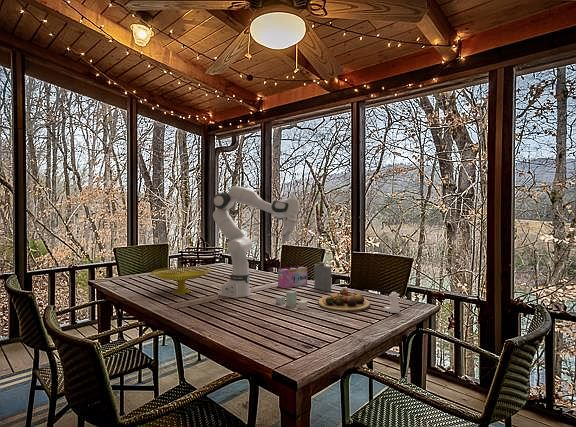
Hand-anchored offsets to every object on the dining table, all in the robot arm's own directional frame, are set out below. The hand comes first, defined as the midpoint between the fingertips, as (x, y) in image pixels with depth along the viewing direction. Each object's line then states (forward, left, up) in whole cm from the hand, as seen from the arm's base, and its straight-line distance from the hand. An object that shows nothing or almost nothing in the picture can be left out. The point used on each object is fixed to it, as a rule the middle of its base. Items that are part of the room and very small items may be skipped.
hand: (284, 241), depth 228 cm
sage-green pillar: (+8, -10, -38) cm, 40 cm away
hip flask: (+16, +38, -38) cm, 56 cm away
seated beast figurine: (+68, -3, -38) cm, 78 cm away
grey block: (0, -7, -38) cm, 39 cm away
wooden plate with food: (+38, +3, -39) cm, 54 cm away
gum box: (-8, +43, -38) cm, 58 cm away
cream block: (+16, -13, -38) cm, 43 cm away
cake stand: (-75, -5, -38) cm, 84 cm away
